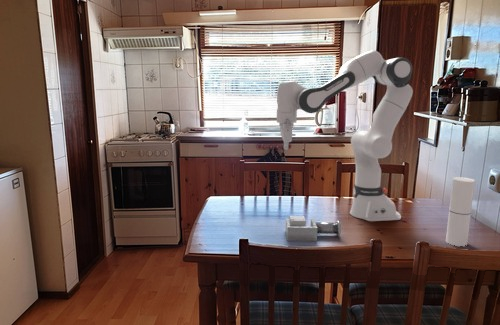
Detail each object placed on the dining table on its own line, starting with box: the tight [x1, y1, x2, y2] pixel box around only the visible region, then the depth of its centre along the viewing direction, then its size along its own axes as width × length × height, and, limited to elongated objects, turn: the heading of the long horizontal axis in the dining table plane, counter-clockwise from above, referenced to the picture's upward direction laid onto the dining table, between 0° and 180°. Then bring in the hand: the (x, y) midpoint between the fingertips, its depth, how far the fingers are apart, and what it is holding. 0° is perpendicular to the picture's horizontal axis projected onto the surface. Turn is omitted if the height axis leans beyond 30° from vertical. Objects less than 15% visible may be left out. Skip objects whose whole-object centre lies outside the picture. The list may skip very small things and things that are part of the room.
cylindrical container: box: [445, 176, 476, 247], centre depth 138 cm, size 7×7×25 cm
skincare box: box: [289, 215, 307, 227], centre depth 146 cm, size 6×6×7 cm
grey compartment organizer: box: [285, 217, 342, 242], centre depth 146 cm, size 21×10×6 cm, turn 88°
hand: (285, 149), depth 165 cm, fingers closed
